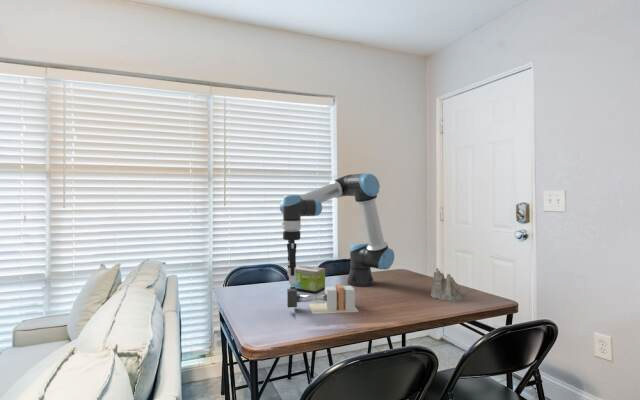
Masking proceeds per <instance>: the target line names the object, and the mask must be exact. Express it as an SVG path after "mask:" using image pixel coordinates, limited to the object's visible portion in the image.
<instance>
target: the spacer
mask: <svg viewBox="0 0 640 400" xmlns="http://www.w3.org/2000/svg"><path fill="white" fill-rule="evenodd" d="M335 289H336V290H337V307H338V309H339V310H344V288H343V285H342V284H341V283H335Z"/></svg>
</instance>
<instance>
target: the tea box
mask: <svg viewBox="0 0 640 400" xmlns="http://www.w3.org/2000/svg"><path fill="white" fill-rule="evenodd" d="M289 284H290V285H289V286H290V287H289V289H297V295H317V294H325V287H326V268H323V267H316V266H307V265H306V266H305V265H301V264H300V265H298V266H296V283H289Z"/></svg>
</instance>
